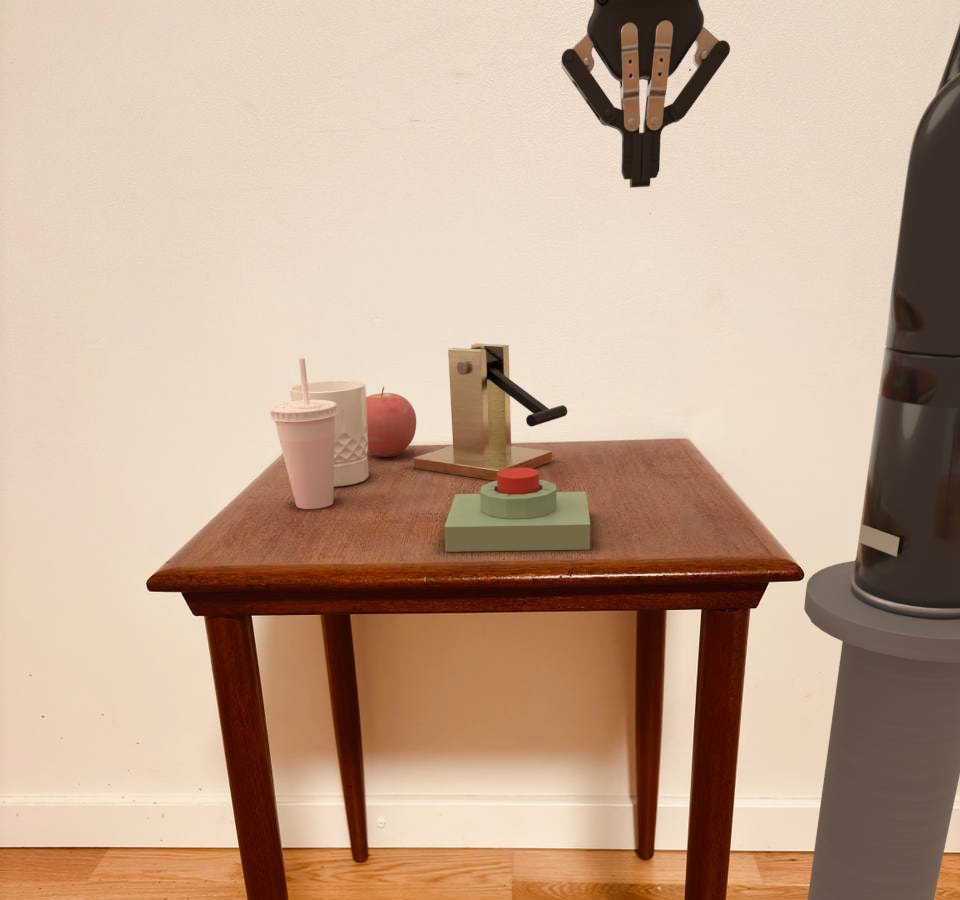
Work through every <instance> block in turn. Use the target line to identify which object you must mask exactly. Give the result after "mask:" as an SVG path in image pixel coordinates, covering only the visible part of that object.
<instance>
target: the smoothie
mask: <svg viewBox="0 0 960 900" xmlns="http://www.w3.org/2000/svg"><path fill="white" fill-rule="evenodd" d="M298 364H299V373H300V381H301V383H300V384H302V391H303V400H300V401H292V400H291V401H286V402H281V403H277V404H275V405H271V407H270V408H269V412H270V419H271V420H272V421H274V424H275V428H276V432H277V436H278V440H279V444H280V447H281V451H282V457H283V460H284V463H285V467H286V471H287V475H288V478H289V483H290V487H291V491H292V495H293V499H294V503H295V506H296V508H299V509H301V510H316V509H318V510H319V509H323V508H327V507H329V506H332V505H333V504H334V495H335V494H334V493H335V492H334V491H335V490H334V489H335V487H334V434H335V416H336V415H337V414H338V412H337V406H336V403H335V402H333V401H328V400H309V392H308V375H307V366H306V359H305V358H302V357H301V358H298Z"/></svg>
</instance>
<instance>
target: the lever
mask: <svg viewBox="0 0 960 900" xmlns="http://www.w3.org/2000/svg"><path fill="white" fill-rule="evenodd" d="M469 349H483V348H481V347H475V348H471V347H470V348H469ZM483 350H484V349H483ZM497 362H498V360H497V359H496V358H495V357H493V356H492V355H491V354H489V353H488V352H487V351H486V365H487V380H490V381H491V382H493V383H494V384H495V385H497V386H498V387H499V388H500V389H502V390H503V391H504V392H506V393H507V394H508V395H510V398H512V399H514V400H515V401H516V402H517V403H519V404H520V405H521V406H522V407H524V408H526V409H527V410H528V411H530V412H531V414H528V415H527V416H526V418H525V422H526V424H527V426H529V427H531V428H532V427H535V426H539V425H542V424H545V423H548V422H551V421H554V420H558V419H560V418H561V419H562V418H564V417H566V416H567V414H568V408H567V407H566V406H565V405H564V404H561V405H558V406H557V405H556V406H554V407H550V408H549V407H547V406H546V405H545V404H543V402H541V401H539V400H538V399H537V398H535V397H534V396H533V395H532V394H530V393H529V392H527V391H526V390H525V389H524V388H522V387H521V386H519V384H517V383H515V382H514V381H513V380H511V379H510V377H509V378H507V377H506V376H505V375H503V374H502V373H501V372H499V371H498V370H497V369H495V367H496V364H497Z"/></svg>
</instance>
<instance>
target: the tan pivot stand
mask: <svg viewBox="0 0 960 900" xmlns="http://www.w3.org/2000/svg"><path fill="white" fill-rule="evenodd" d="M470 346H471V347H470V348H475V347H481V348H483V349H484V350H483V349H470V348H463V347H451V348H448V349H447V356H448V357H447V358H448V373H449V377H448V378H449V393H450V394H449V395H450V413H451V415H450V416H451V432H452V445H450V446H446V447H444V448H440V449H437V450H434V451H431V452H430V451H429V452H427V453H425V454H420V455H418V456H414V457H413V458H412V459H413V467H414V469H418V470H423V471H430V472H437V473H441V474H442V473H443V474H449V475H456V476H461V477H468V478H473V479H479V480H480V479H481V480H487V481H492V482H493V481H497V473H498V472H499V471H501V470H504V469H509V468H531V469H536V468H539V467H542V466H544V465H547V464H549V463H552V462H553V456H552V455H553V451H552V450H544V449H537V448H529V447H523V446H521V447H520V446H513V445H512V423H511V421H512V420H511V396H510V395H508V394H507V393H506V392H504V391H503V390H502V389H500V388H499V387H498V386H497V385H495V384H494V383H493V382H491V381H490V380H487V365H486V351H487V352H488V353H489V354H491V355H492V356H493V357H495V358H496V359H497V360H498V362H497V364H496V367H495V369H497V370H498V371H499V372H501V373H502V374H503V375H505V376H506V377H507V378H509V379H510V348H509V347H510V345H509V344H499V343H497V344H495V343H479V342H477V343H472V344H471V345H470Z"/></svg>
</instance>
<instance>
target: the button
mask: <svg viewBox="0 0 960 900" xmlns="http://www.w3.org/2000/svg"><path fill="white" fill-rule="evenodd" d="M539 480H540V471H539V470H537V469H536V468H533V469H531V468H509V469H504V470H501V471H499V472H498V473H497V491H498V493H502V494H509V495H518V494H529V493H535V492H538V491H539Z"/></svg>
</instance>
